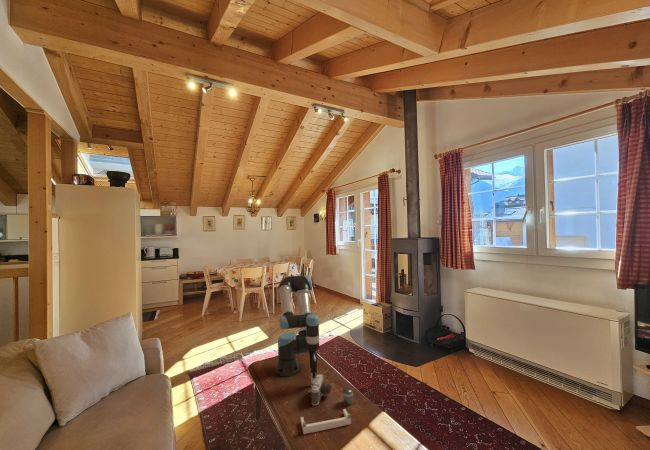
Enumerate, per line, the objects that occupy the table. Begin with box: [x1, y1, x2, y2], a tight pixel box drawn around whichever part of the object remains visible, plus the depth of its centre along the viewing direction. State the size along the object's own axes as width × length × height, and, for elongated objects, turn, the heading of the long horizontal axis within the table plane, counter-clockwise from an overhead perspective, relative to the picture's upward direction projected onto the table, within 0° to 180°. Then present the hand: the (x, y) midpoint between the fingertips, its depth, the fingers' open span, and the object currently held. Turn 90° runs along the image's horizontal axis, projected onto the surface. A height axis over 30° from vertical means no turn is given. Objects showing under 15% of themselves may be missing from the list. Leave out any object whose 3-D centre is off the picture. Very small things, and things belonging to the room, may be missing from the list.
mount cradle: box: [300, 408, 352, 435], centre depth 132 cm, size 8×22×4 cm, turn 104°
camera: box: [310, 373, 332, 406], centre depth 153 cm, size 9×16×10 cm, turn 169°
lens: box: [342, 387, 354, 407], centre depth 147 cm, size 5×5×7 cm
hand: (313, 382), depth 165 cm, fingers closed
